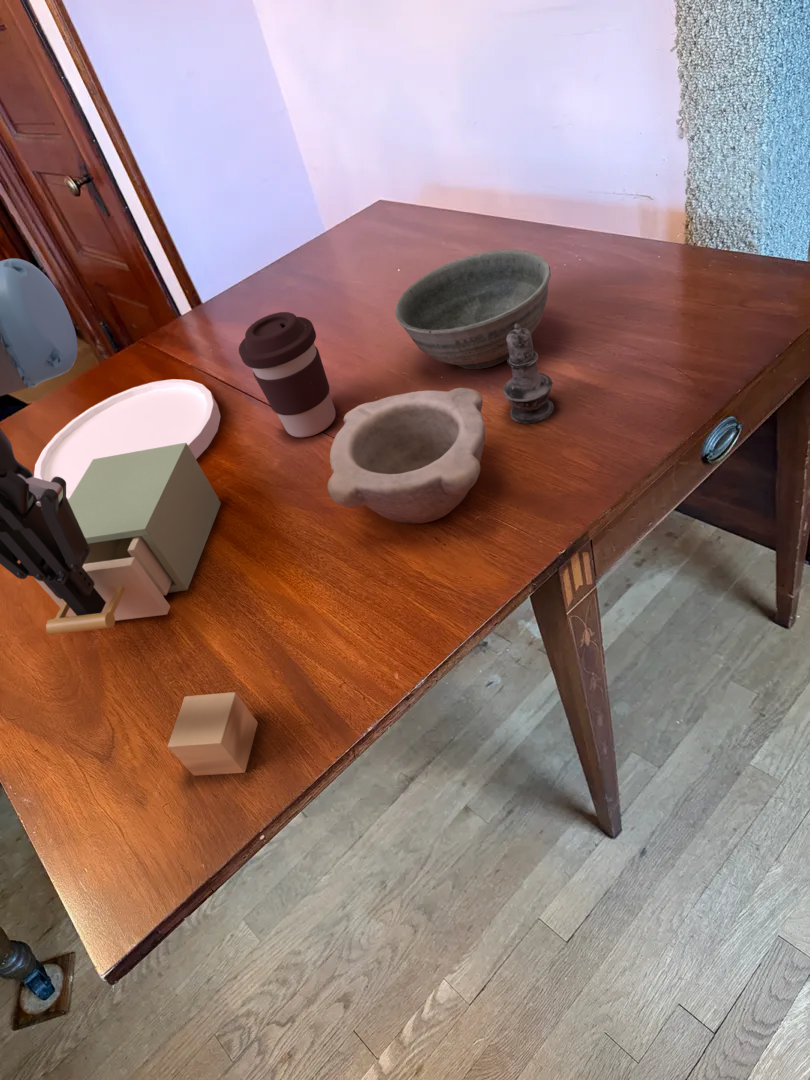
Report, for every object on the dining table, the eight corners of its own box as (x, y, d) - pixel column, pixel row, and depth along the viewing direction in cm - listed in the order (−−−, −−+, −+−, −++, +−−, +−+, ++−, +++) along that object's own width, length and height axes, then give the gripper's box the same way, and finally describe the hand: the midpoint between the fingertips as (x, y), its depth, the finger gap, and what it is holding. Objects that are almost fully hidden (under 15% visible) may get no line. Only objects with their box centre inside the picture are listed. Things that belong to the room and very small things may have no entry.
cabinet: (187, 590, 84) (144, 528, 78) (89, 602, 87) (41, 544, 81) (221, 503, 95) (186, 442, 88) (133, 517, 98) (93, 459, 91)
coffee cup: (267, 447, 101) (220, 351, 91) (291, 404, 108) (249, 310, 98) (334, 442, 98) (292, 341, 88) (354, 398, 104) (318, 300, 94)
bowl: (553, 386, 94) (542, 315, 87) (397, 402, 101) (376, 337, 94) (565, 304, 107) (556, 236, 101) (427, 323, 114) (411, 261, 108)
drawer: (151, 653, 77) (112, 604, 72) (56, 663, 80) (11, 616, 75) (202, 528, 90) (171, 478, 85) (118, 540, 93) (84, 493, 88)
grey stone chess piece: (555, 393, 93) (542, 305, 85) (556, 421, 88) (543, 331, 80) (508, 400, 94) (491, 314, 86) (507, 428, 90) (489, 341, 82)
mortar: (494, 543, 77) (477, 475, 71) (340, 556, 81) (312, 494, 75) (501, 443, 88) (487, 377, 82) (367, 459, 93) (344, 398, 87)
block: (245, 773, 65) (220, 742, 61) (193, 776, 66) (167, 746, 63) (258, 722, 68) (235, 691, 65) (209, 726, 69) (184, 696, 66)
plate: (241, 446, 103) (234, 432, 101) (50, 541, 99) (39, 528, 97) (197, 371, 124) (190, 358, 122) (37, 448, 119) (28, 435, 117)
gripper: (29, 394, 64) (161, 579, 79) (-93, 420, 67) (57, 593, 82) (-13, 448, 58) (137, 635, 74) (-144, 473, 61) (27, 647, 77)
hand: (95, 612), depth 78 cm, fingers closed
